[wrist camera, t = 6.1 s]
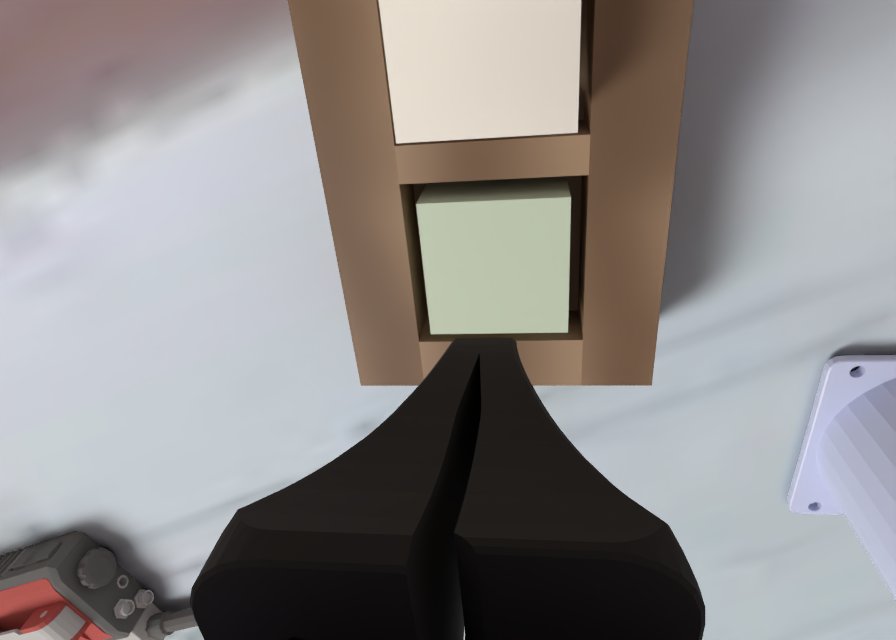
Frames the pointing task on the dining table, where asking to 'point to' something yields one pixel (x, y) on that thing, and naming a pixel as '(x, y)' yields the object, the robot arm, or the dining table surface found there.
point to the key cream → (482, 67)
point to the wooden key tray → (571, 154)
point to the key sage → (496, 255)
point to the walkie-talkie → (78, 596)
